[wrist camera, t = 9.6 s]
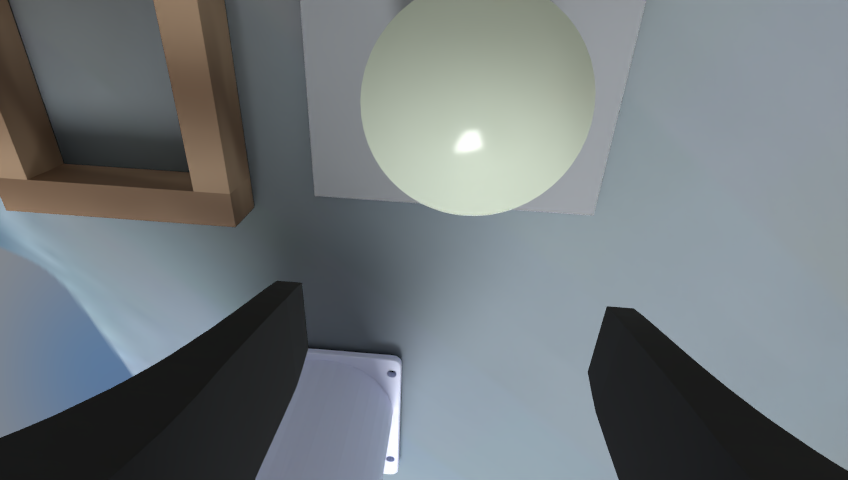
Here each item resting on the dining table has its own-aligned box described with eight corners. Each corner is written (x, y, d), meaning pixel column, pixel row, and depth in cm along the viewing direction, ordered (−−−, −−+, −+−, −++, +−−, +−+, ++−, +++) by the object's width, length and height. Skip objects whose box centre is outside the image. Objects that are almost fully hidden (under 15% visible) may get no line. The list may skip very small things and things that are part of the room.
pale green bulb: (522, 132, 18) (563, 225, 11) (395, 118, 18) (358, 204, 11) (550, -13, 16) (626, -9, 9) (404, -28, 16) (362, -35, 9)
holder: (254, 207, 21) (235, 227, 19) (43, 192, 21) (6, 210, 20) (217, -51, 16) (187, -56, 14) (-54, -64, 17) (-115, -70, 15)
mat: (590, 210, 20) (593, 215, 20) (317, 191, 20) (314, 196, 20) (675, -142, 14) (682, -146, 14) (293, -157, 15) (287, -162, 14)
